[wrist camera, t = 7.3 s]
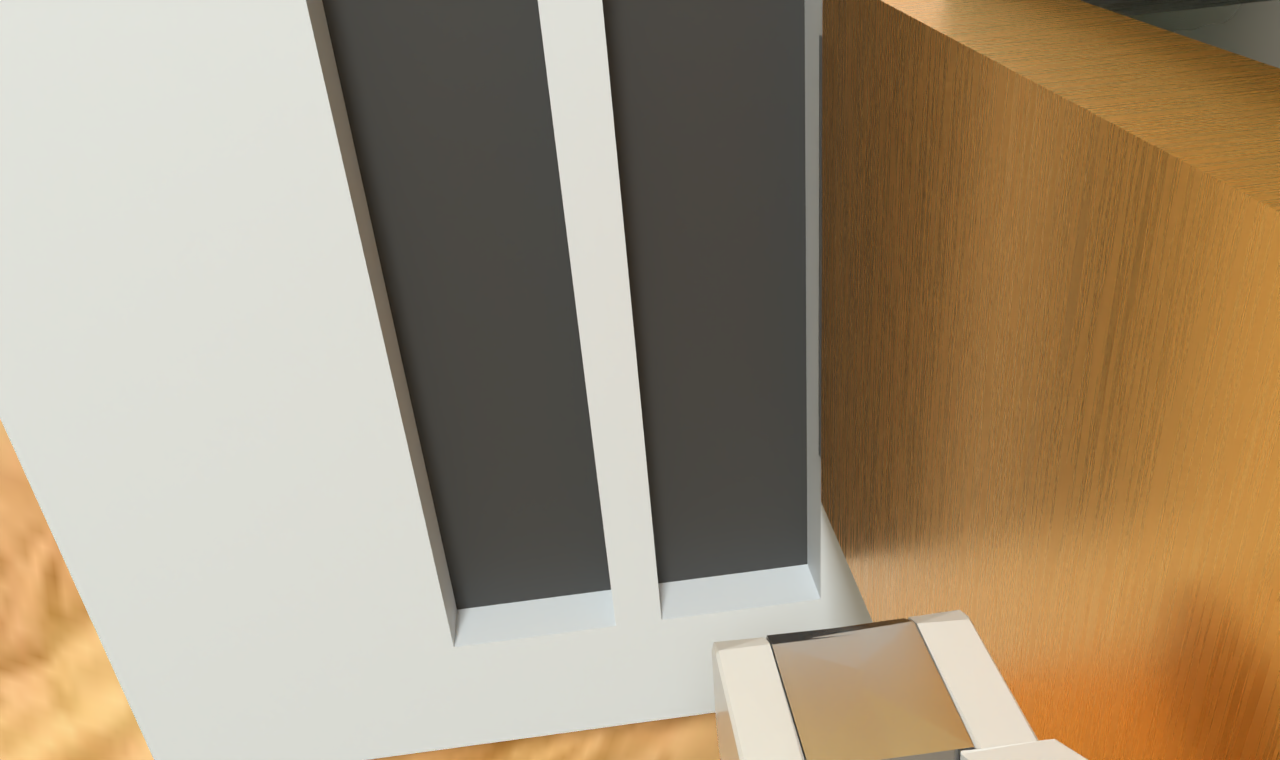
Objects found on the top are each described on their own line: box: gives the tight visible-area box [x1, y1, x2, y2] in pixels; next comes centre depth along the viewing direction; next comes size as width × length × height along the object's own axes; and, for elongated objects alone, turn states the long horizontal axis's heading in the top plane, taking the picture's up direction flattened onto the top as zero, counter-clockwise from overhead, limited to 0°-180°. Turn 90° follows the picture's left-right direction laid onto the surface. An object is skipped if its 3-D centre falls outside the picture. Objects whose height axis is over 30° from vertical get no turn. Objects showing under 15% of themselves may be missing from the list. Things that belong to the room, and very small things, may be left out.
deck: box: [0, 0, 1141, 760], centre depth 20 cm, size 38×22×2 cm, turn 95°
